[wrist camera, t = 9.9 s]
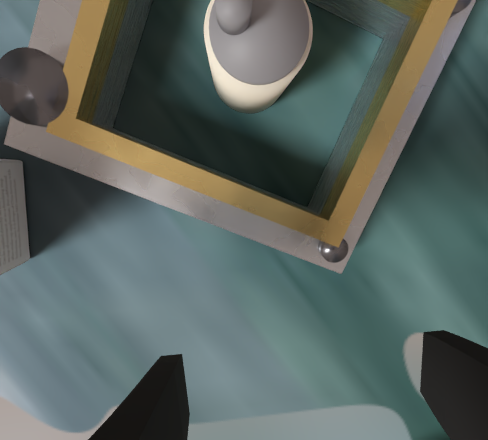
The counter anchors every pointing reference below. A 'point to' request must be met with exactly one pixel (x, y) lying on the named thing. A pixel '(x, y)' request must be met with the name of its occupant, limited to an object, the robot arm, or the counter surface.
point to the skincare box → (12, 216)
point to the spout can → (256, 49)
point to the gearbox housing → (202, 177)
